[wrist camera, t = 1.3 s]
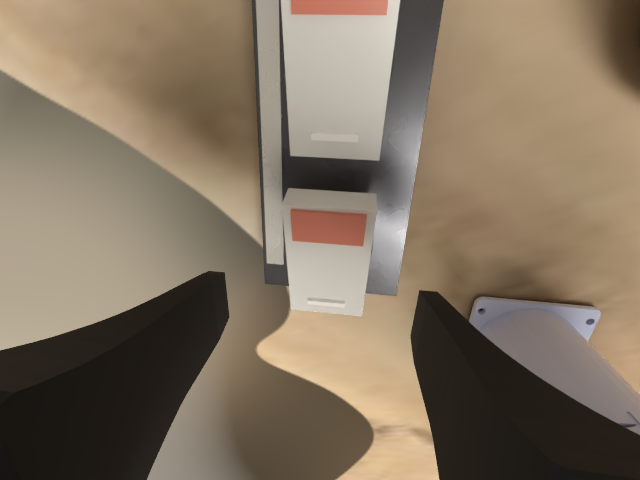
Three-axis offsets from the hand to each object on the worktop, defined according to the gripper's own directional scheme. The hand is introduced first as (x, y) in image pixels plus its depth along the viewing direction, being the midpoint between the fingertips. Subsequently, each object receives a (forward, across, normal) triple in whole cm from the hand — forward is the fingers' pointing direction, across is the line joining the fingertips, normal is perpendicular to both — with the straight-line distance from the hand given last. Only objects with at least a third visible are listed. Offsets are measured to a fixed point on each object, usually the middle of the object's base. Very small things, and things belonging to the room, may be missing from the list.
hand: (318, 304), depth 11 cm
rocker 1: (+6, 0, -8) cm, 10 cm away
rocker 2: (+6, 0, 0) cm, 6 cm away
